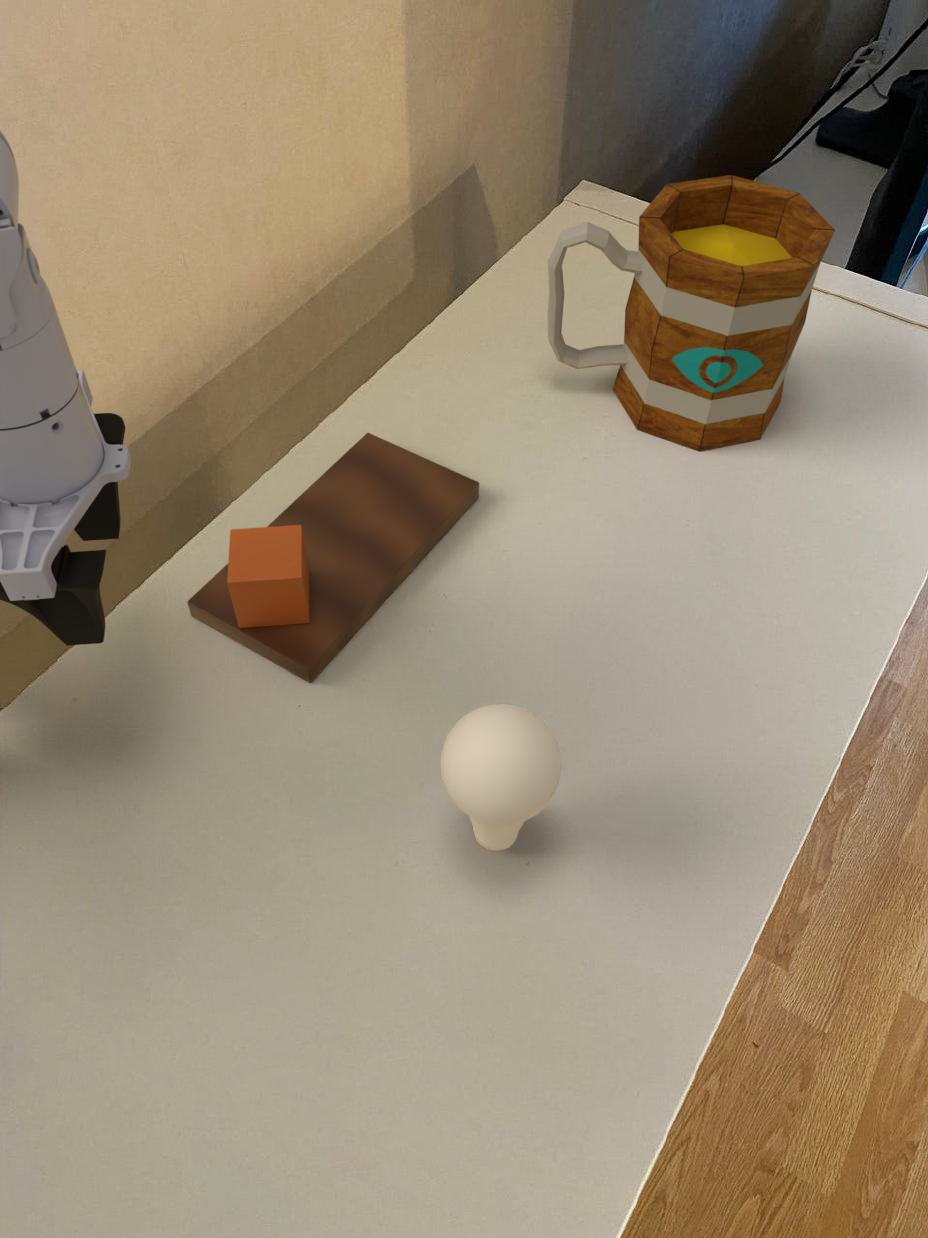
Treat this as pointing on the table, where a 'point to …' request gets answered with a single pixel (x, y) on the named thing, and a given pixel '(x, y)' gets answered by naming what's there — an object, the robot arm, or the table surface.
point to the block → (269, 576)
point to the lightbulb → (500, 770)
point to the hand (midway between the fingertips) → (93, 585)
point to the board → (350, 549)
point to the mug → (704, 307)
